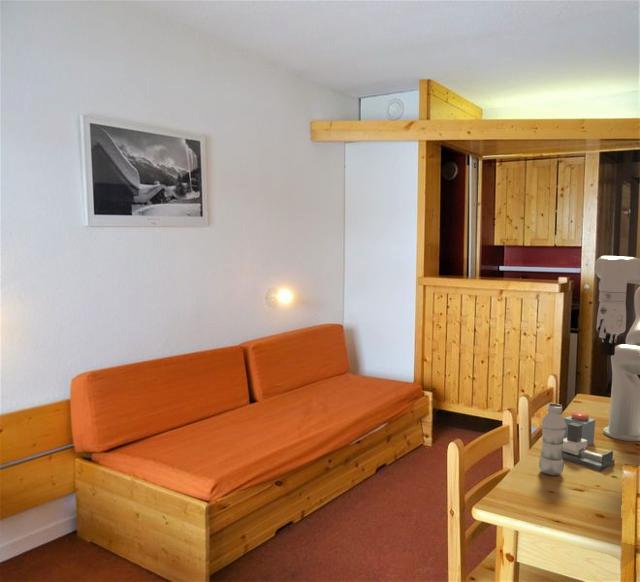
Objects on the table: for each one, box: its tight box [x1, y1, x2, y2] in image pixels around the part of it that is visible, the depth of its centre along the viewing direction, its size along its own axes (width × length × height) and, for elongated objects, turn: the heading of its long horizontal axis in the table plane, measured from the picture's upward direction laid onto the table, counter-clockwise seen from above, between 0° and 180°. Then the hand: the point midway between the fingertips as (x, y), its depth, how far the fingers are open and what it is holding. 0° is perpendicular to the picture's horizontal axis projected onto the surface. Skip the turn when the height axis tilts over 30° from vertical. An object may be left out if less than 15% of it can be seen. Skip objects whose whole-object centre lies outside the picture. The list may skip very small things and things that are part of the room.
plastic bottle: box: [538, 403, 566, 476], centre depth 170 cm, size 6×7×20 cm
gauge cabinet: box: [563, 415, 596, 447], centre depth 198 cm, size 8×7×8 cm
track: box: [563, 449, 616, 472], centre depth 182 cm, size 9×14×4 cm, turn 40°
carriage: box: [563, 422, 588, 455], centre depth 184 cm, size 7×5×8 cm
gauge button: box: [570, 411, 590, 422], centre depth 197 cm, size 5×5×5 cm
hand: (608, 354), depth 190 cm, fingers closed
